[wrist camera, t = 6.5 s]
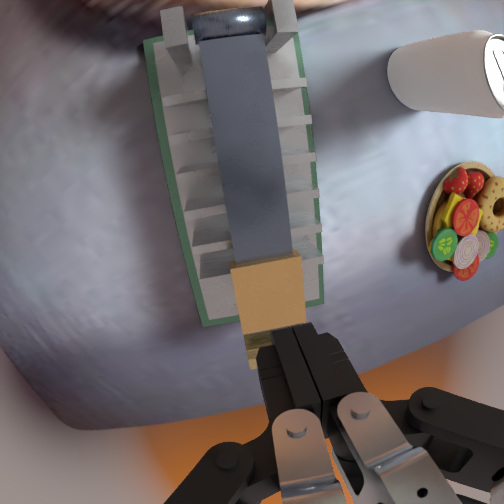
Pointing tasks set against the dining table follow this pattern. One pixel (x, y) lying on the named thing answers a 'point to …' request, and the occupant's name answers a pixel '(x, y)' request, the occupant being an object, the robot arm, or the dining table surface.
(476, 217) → the toy food set
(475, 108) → the can
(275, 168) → the grey and tan bar
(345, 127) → the dining table surface
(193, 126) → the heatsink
